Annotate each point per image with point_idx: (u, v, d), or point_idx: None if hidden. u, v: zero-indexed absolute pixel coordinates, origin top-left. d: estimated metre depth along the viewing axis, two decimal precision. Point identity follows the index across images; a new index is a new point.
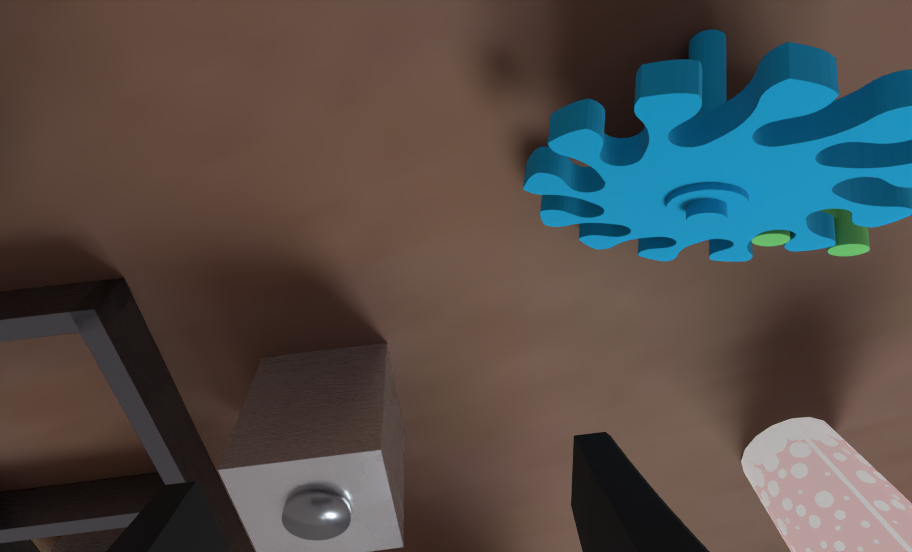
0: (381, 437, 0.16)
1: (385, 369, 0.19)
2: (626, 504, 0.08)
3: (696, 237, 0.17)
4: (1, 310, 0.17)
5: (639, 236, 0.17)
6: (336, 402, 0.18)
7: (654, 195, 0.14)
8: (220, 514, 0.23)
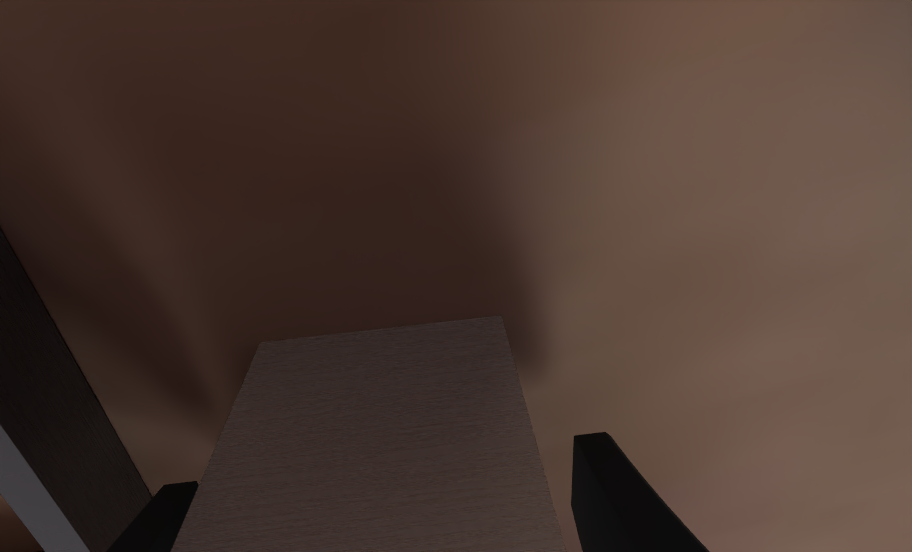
0: (559, 531, 0.07)
1: (513, 365, 0.09)
2: (626, 504, 0.08)
3: None
4: None
5: None
6: (425, 437, 0.08)
7: None
8: None
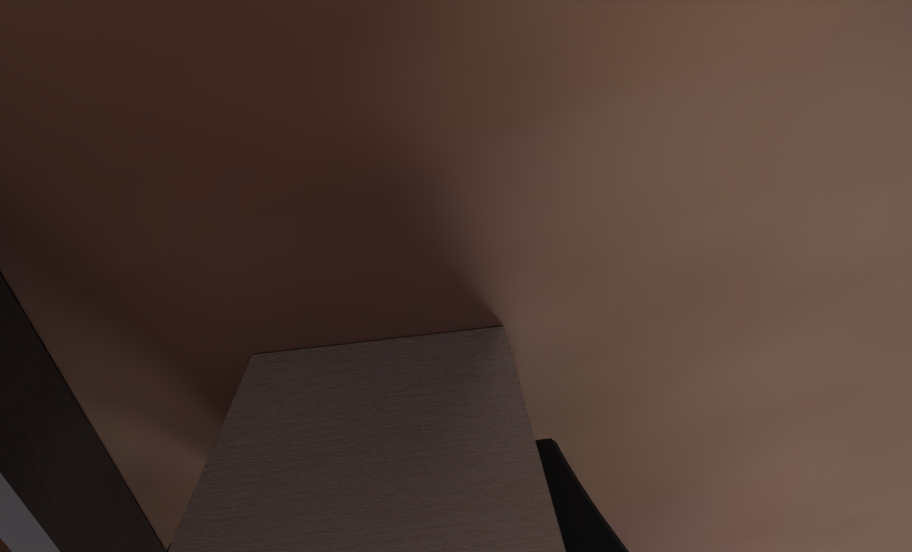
0: None
1: (517, 382, 0.09)
2: (559, 512, 0.08)
3: None
4: None
5: None
6: (424, 462, 0.08)
7: None
8: None
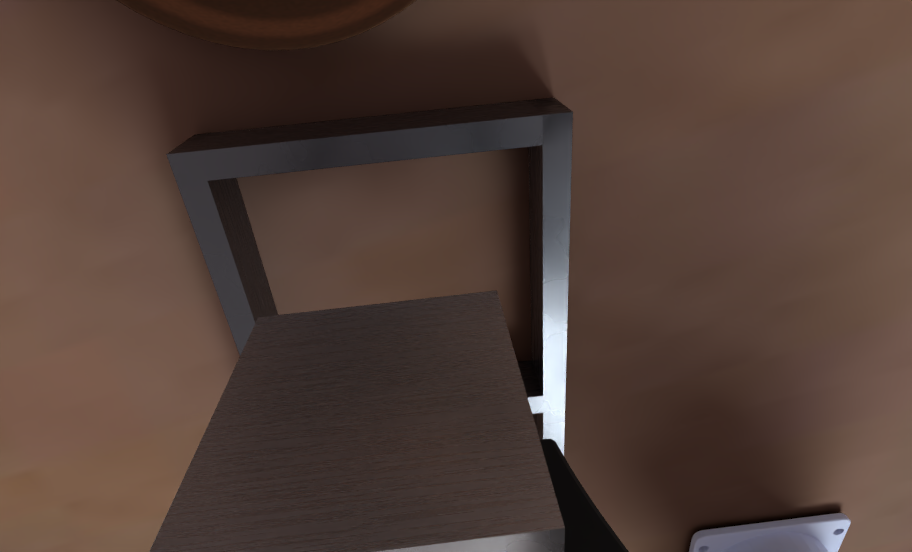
0: (553, 491, 0.07)
1: (509, 338, 0.10)
2: None
3: None
4: (444, 119, 0.14)
5: None
6: (420, 404, 0.08)
7: None
8: None
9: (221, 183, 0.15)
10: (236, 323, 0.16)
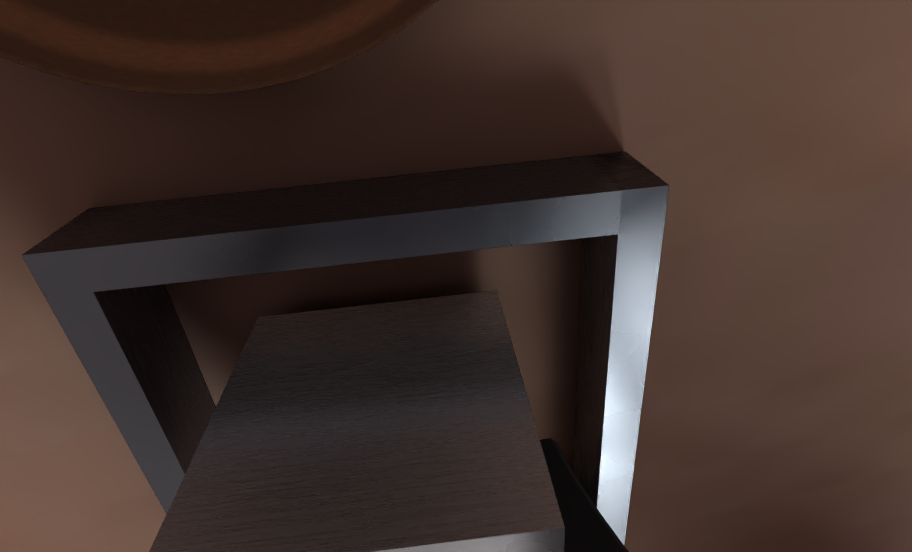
0: (552, 491, 0.07)
1: (509, 338, 0.09)
2: None
3: None
4: (465, 193, 0.09)
5: None
6: (420, 405, 0.08)
7: None
8: None
9: None
10: (157, 477, 0.11)
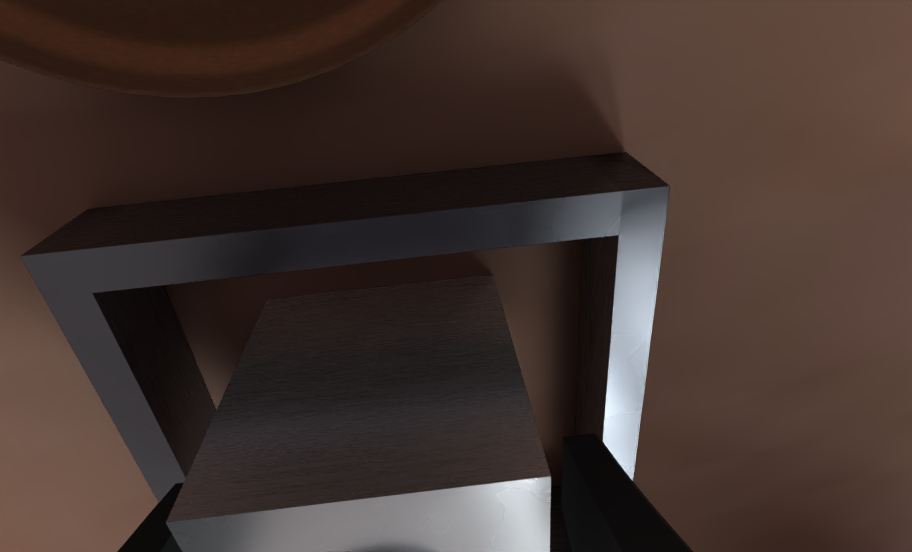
0: (541, 446, 0.07)
1: (503, 315, 0.10)
2: (613, 506, 0.08)
3: None
4: (465, 194, 0.09)
5: None
6: (421, 374, 0.09)
7: None
8: None
9: None
10: (157, 478, 0.11)
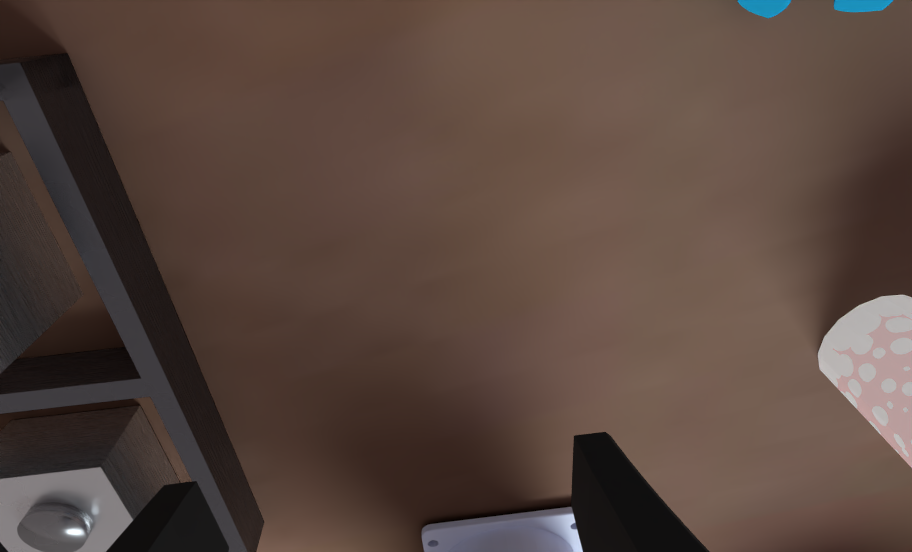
0: None
1: None
2: (626, 504, 0.08)
3: None
4: None
5: None
6: None
7: None
8: (196, 400, 0.19)
9: None
10: None
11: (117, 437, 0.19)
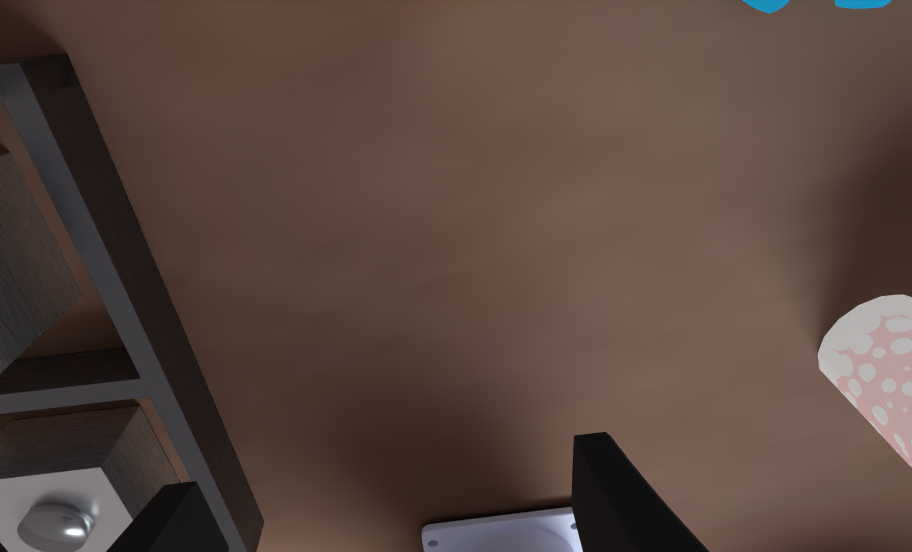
0: None
1: None
2: (626, 504, 0.08)
3: None
4: None
5: None
6: None
7: None
8: (196, 400, 0.19)
9: None
10: None
11: (117, 437, 0.19)
